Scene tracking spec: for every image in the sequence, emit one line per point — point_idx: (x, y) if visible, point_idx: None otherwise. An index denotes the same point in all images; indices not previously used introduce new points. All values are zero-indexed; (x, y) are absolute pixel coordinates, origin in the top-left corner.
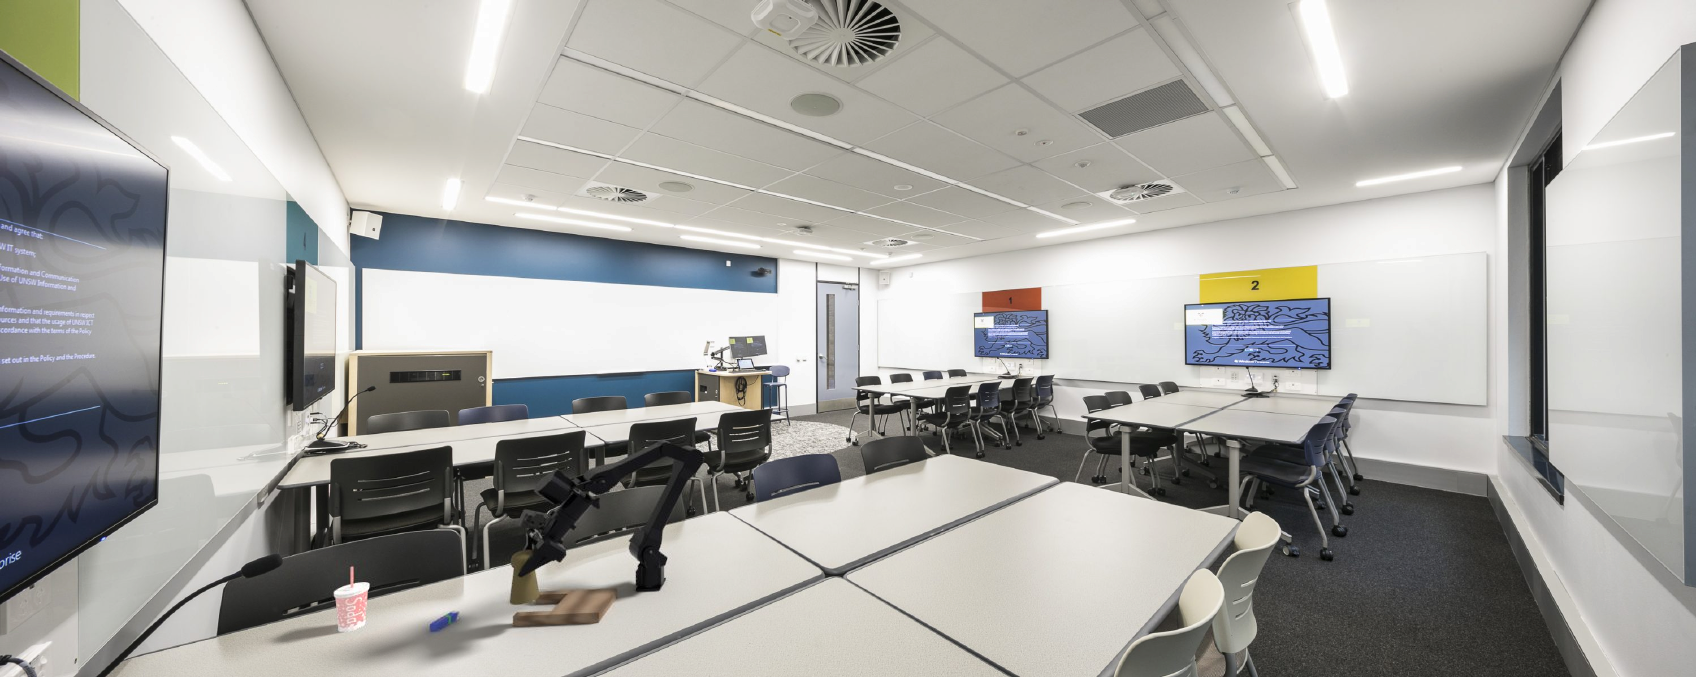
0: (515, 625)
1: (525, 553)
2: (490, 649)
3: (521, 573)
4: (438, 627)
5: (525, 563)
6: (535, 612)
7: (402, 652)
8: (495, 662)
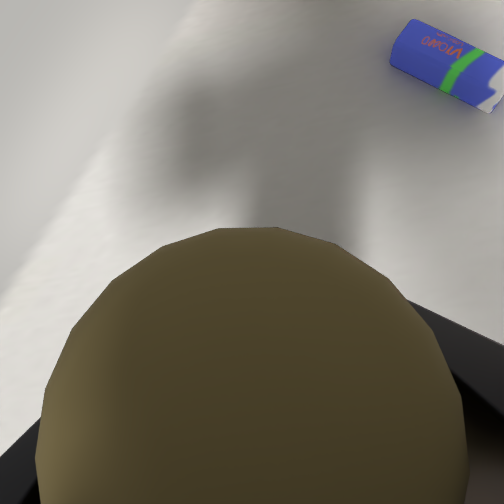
0: None
1: (131, 482)
2: None
3: None
4: (396, 59)
5: (16, 468)
6: None
7: (267, 5)
8: (6, 315)
